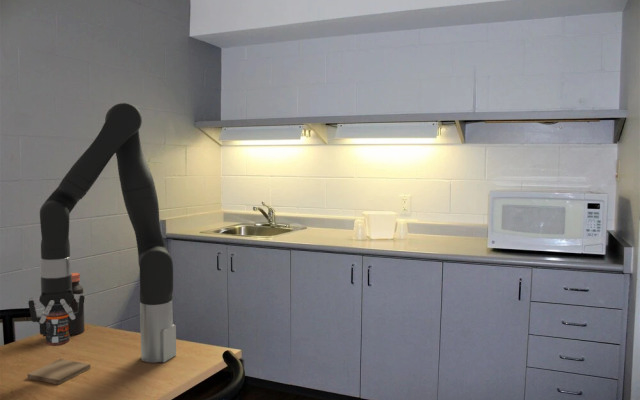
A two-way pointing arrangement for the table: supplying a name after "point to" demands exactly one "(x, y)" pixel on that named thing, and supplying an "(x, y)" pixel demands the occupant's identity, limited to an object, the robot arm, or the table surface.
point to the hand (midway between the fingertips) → (58, 333)
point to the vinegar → (74, 305)
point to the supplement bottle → (57, 326)
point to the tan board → (59, 371)
